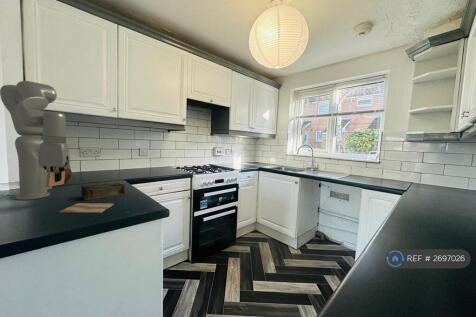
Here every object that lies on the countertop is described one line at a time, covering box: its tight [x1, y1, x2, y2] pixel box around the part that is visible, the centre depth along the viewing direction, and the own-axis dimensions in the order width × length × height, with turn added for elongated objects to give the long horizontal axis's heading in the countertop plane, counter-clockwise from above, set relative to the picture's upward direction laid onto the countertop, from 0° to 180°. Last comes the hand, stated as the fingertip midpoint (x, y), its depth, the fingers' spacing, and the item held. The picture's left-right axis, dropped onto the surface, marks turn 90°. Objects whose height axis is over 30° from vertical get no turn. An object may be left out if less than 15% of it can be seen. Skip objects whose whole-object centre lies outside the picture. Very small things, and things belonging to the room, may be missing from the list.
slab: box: [44, 171, 65, 187], centre depth 91 cm, size 9×2×6 cm, turn 7°
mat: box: [58, 202, 115, 214], centre depth 90 cm, size 12×16×1 cm
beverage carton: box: [80, 182, 126, 201], centre depth 110 cm, size 8×19×7 cm, turn 139°
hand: (55, 180), depth 91 cm, fingers closed on slab, 1 cm apart
